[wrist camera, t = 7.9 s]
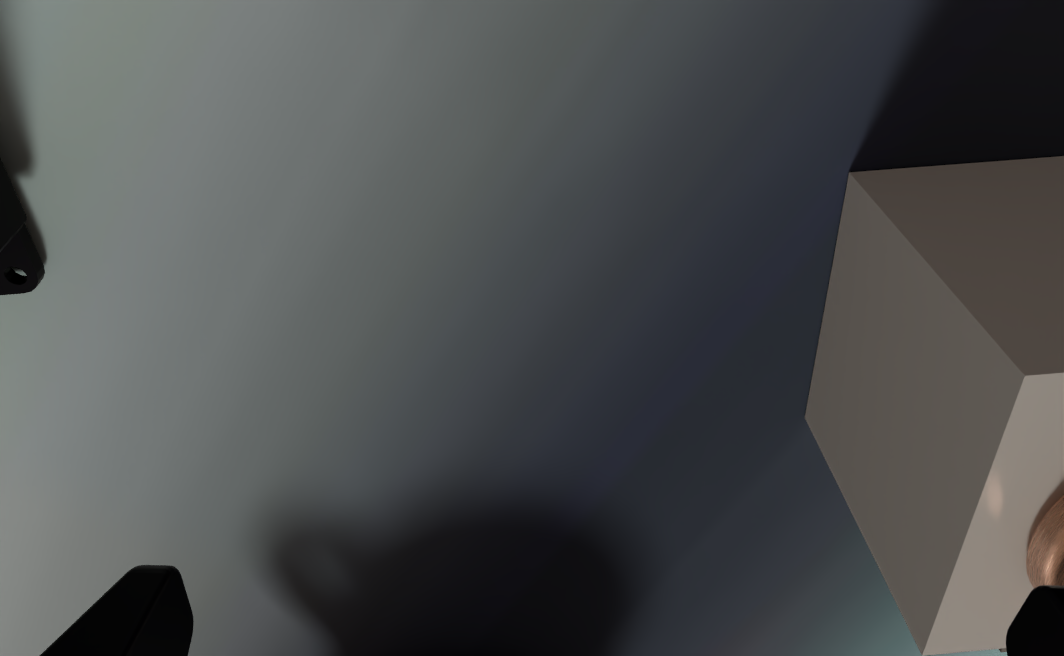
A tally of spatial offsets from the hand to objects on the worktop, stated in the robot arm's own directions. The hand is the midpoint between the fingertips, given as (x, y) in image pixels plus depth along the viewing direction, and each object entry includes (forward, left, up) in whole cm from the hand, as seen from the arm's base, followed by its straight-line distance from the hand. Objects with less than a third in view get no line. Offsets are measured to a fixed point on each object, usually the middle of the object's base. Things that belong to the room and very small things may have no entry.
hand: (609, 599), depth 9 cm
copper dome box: (+12, -6, -13) cm, 18 cm away
